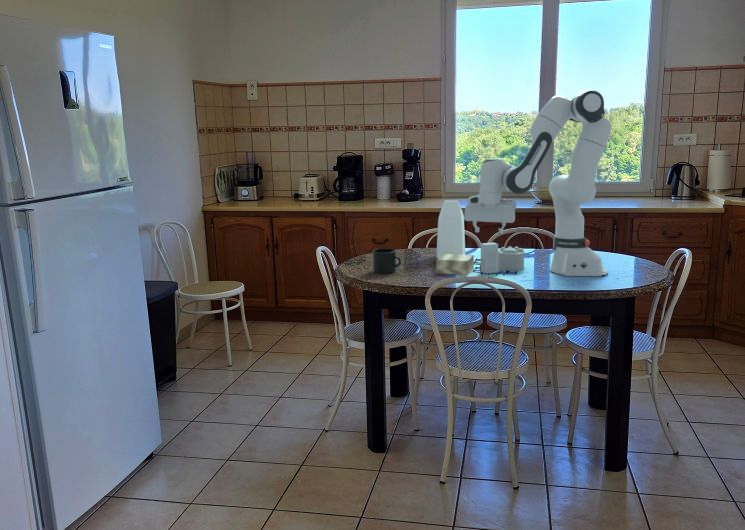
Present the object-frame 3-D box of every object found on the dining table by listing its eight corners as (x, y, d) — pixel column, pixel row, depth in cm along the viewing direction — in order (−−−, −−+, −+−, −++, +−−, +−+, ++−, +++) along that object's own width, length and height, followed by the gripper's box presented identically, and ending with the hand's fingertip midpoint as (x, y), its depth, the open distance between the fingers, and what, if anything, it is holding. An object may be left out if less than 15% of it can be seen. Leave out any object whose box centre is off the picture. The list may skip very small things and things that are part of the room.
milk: (436, 258, 298) (436, 201, 293) (439, 254, 309) (440, 199, 304) (462, 259, 295) (463, 202, 290) (465, 254, 306) (465, 199, 301)
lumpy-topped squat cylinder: (495, 269, 273) (496, 249, 271) (502, 263, 285) (502, 244, 283) (521, 271, 269) (521, 250, 267) (526, 265, 281) (526, 245, 279)
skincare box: (493, 270, 271) (493, 242, 269) (498, 272, 267) (498, 243, 265) (479, 271, 269) (480, 243, 267) (484, 273, 265) (485, 244, 263)
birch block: (473, 269, 276) (473, 255, 275) (467, 275, 264) (467, 261, 263) (443, 267, 280) (443, 253, 279) (436, 273, 268) (436, 259, 267)
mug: (396, 275, 266) (396, 253, 264) (369, 273, 270) (369, 251, 268) (404, 270, 274) (404, 249, 272) (378, 268, 279) (378, 247, 277)
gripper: (517, 198, 262) (515, 232, 265) (466, 197, 268) (465, 230, 271) (515, 200, 256) (514, 235, 259) (464, 198, 262) (462, 232, 265)
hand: (488, 232), depth 265 cm, fingers open, 8 cm apart
